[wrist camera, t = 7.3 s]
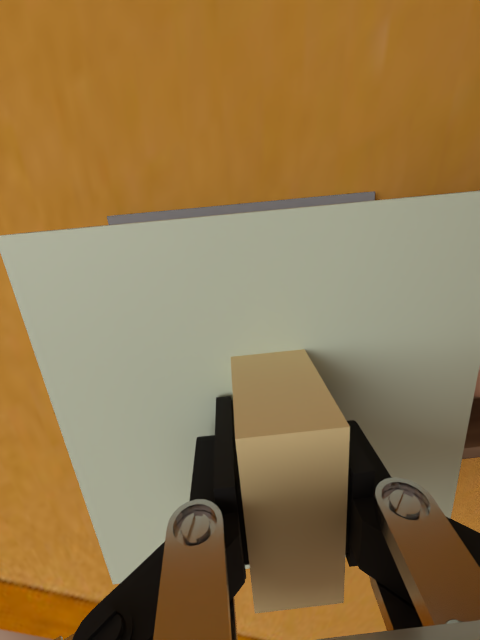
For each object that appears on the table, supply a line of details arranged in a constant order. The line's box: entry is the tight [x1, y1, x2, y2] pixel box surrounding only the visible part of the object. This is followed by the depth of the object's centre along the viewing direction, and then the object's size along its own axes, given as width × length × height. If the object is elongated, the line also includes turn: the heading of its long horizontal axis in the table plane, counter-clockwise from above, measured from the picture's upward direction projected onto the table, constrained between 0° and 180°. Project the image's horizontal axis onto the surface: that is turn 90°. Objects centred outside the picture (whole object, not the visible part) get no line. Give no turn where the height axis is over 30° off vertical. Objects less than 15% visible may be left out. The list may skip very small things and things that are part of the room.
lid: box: [0, 191, 480, 613], centre depth 10 cm, size 15×15×5 cm
